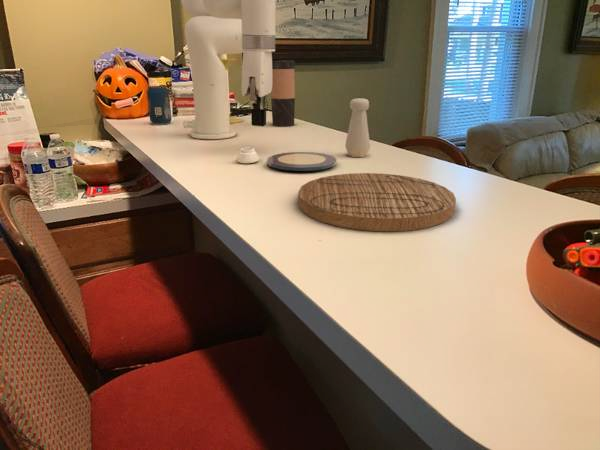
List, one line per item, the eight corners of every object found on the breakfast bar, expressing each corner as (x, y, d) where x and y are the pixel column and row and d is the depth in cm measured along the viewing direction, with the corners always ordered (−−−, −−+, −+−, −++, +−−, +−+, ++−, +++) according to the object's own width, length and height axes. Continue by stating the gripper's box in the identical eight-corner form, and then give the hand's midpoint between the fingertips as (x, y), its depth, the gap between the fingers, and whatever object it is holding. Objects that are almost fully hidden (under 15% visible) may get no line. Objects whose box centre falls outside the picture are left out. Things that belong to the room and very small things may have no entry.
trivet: (300, 182, 89) (300, 172, 88) (433, 183, 88) (434, 173, 87) (295, 230, 65) (295, 217, 65) (476, 232, 65) (478, 219, 64)
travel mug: (294, 126, 151) (294, 60, 144) (271, 126, 151) (269, 60, 144) (295, 123, 158) (294, 60, 151) (272, 123, 158) (271, 60, 151)
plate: (258, 171, 97) (258, 165, 96) (276, 156, 110) (276, 150, 110) (331, 175, 94) (331, 168, 93) (340, 159, 107) (340, 153, 107)
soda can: (152, 122, 161) (148, 85, 156) (173, 121, 161) (169, 85, 157) (148, 125, 154) (144, 87, 150) (170, 124, 155) (166, 87, 151)
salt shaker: (368, 158, 108) (371, 100, 103) (343, 157, 109) (345, 99, 104) (370, 153, 113) (373, 97, 108) (346, 152, 114) (348, 97, 110)
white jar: (262, 160, 106) (242, 158, 108) (262, 147, 105) (241, 145, 107) (253, 165, 102) (232, 163, 103) (252, 151, 101) (231, 150, 102)
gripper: (252, 42, 113) (253, 118, 121) (231, 44, 100) (233, 130, 107) (282, 43, 112) (281, 120, 119) (265, 46, 99) (265, 132, 106)
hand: (258, 125), depth 113 cm, fingers closed
